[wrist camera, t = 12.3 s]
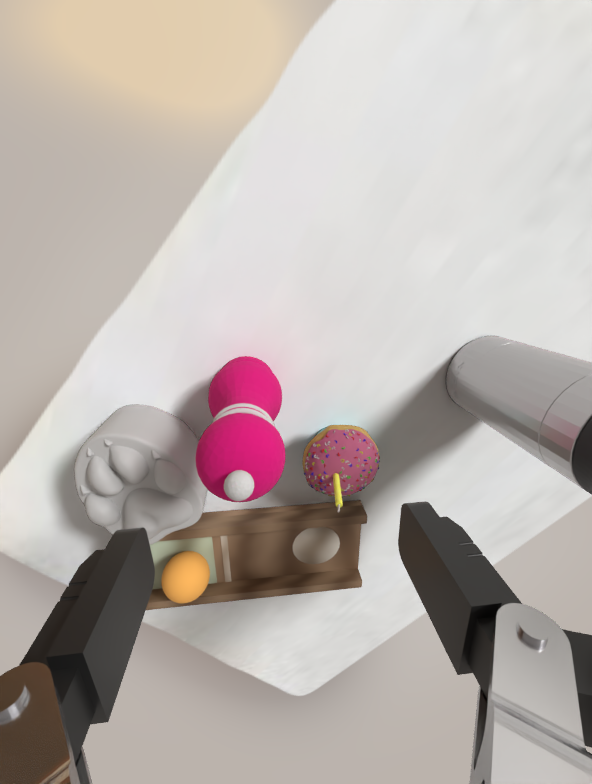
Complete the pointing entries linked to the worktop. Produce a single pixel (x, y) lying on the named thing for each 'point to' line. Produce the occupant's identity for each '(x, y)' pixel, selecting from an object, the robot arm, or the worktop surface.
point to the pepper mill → (242, 432)
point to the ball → (185, 577)
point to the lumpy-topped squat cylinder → (141, 473)
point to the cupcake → (340, 461)
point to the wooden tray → (268, 552)
